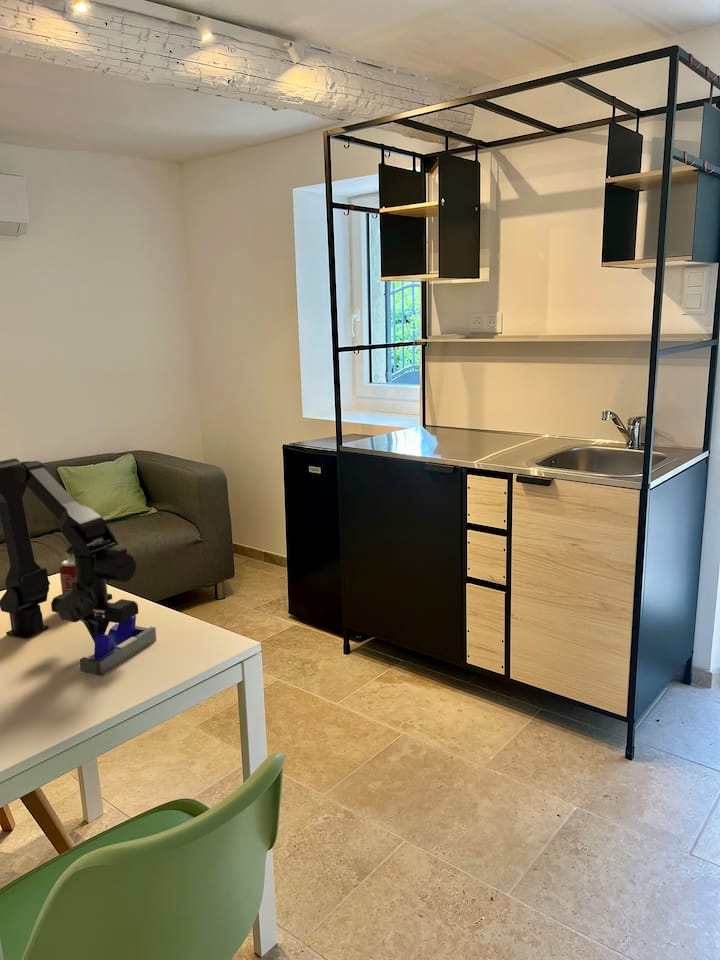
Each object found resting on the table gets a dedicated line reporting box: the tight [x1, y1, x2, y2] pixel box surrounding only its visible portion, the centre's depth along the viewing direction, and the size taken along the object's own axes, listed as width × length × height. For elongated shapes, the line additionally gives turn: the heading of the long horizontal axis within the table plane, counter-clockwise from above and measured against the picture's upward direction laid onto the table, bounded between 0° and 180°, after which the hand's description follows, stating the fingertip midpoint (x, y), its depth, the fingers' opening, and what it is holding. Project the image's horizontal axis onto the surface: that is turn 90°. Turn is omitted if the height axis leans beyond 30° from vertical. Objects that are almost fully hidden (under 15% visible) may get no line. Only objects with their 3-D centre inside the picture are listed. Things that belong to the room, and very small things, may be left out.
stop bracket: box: [78, 625, 157, 677], centre depth 154 cm, size 5×17×3 cm, turn 158°
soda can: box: [59, 557, 77, 594], centre depth 178 cm, size 7×7×12 cm
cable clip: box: [93, 614, 137, 660], centre depth 155 cm, size 12×4×6 cm, turn 171°
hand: (98, 643), depth 156 cm, fingers closed
